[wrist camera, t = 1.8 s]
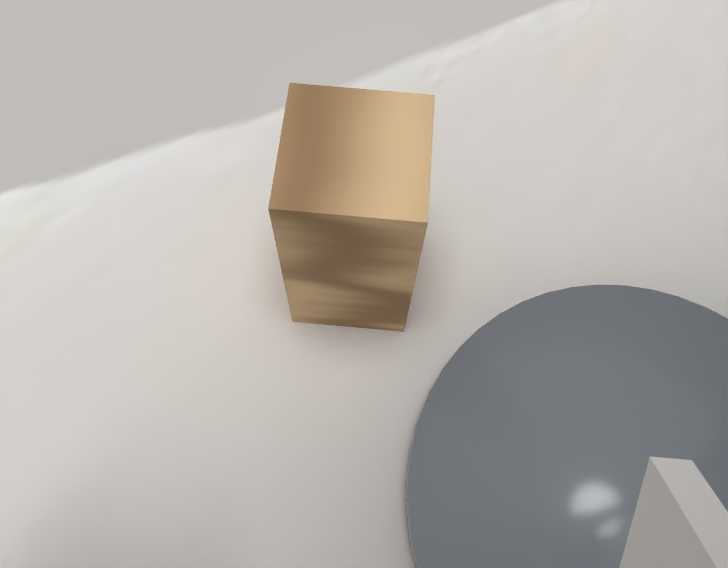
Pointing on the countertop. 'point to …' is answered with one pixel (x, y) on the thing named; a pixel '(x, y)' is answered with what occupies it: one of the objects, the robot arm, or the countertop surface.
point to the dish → (564, 427)
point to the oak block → (352, 203)
